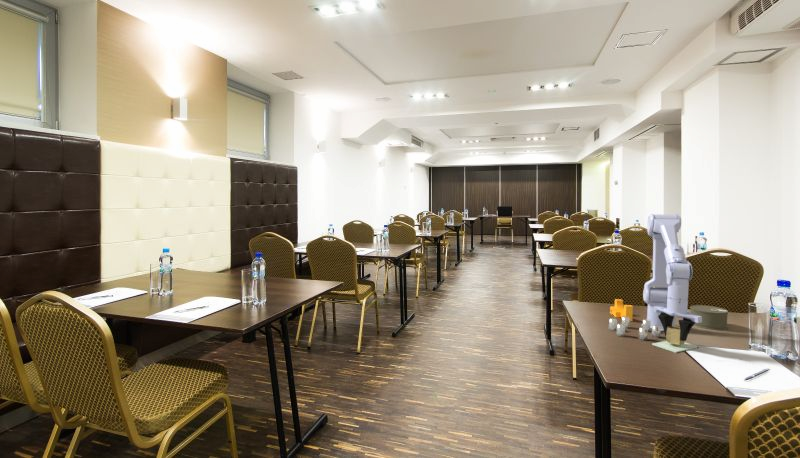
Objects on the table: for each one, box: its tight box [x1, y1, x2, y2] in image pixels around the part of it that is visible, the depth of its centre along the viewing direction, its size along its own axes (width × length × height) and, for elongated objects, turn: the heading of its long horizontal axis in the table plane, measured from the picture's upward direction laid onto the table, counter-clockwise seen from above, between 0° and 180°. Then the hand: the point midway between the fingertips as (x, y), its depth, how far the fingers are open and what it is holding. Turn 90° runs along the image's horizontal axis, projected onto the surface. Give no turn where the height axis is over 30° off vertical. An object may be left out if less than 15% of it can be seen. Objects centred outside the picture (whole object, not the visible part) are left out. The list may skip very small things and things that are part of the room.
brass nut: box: [665, 325, 685, 345], centre depth 136 cm, size 5×4×5 cm
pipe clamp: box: [609, 298, 634, 322], centre depth 171 cm, size 12×4×6 cm, turn 172°
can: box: [689, 304, 729, 331], centre depth 160 cm, size 12×12×7 cm
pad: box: [651, 340, 700, 354], centre depth 136 cm, size 12×8×1 cm, turn 114°
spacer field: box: [608, 316, 661, 341], centre depth 150 cm, size 17×15×4 cm
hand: (675, 338), depth 136 cm, fingers closed on brass nut, 4 cm apart
